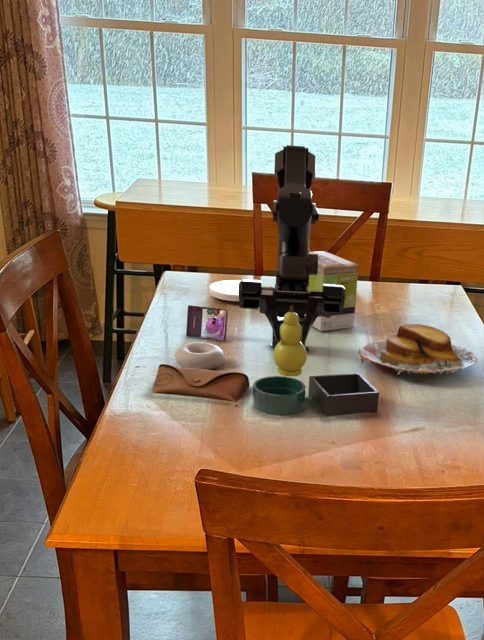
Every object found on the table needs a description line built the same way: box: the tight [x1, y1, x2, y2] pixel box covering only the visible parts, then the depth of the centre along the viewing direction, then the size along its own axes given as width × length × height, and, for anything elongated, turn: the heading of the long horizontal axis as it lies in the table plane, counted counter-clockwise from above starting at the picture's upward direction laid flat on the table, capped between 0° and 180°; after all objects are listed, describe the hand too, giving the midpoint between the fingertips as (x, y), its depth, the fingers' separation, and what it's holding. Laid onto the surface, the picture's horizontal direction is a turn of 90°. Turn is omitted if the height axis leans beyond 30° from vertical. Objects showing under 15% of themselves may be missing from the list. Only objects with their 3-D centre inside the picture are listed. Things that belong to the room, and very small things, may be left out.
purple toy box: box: [185, 304, 229, 342], centre depth 184 cm, size 7×5×9 cm
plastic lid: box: [209, 279, 242, 302], centre depth 211 cm, size 14×14×2 cm
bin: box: [307, 372, 380, 417], centre depth 155 cm, size 10×10×5 cm
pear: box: [273, 306, 308, 377], centre depth 147 cm, size 6×6×12 cm
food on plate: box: [358, 323, 478, 376], centre depth 177 cm, size 25×25×7 cm
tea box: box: [305, 250, 359, 332], centre depth 196 cm, size 15×10×15 cm, turn 34°
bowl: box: [252, 375, 307, 416], centre depth 152 cm, size 10×10×4 cm
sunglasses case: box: [152, 363, 250, 403], centre depth 156 cm, size 18×7×7 cm, turn 85°
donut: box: [174, 341, 225, 370], centre depth 169 cm, size 10×3×10 cm
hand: (290, 340), depth 145 cm, fingers closed on pear, 4 cm apart
